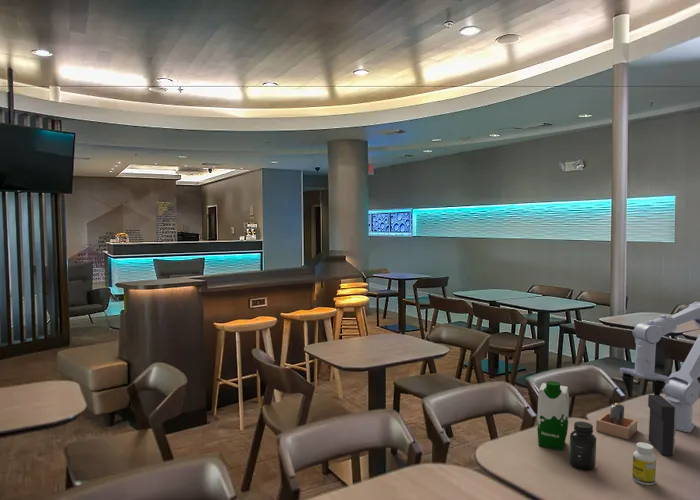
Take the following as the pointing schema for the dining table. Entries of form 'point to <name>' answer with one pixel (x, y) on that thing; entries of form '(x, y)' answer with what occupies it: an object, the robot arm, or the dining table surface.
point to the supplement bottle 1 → (582, 447)
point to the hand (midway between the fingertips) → (642, 399)
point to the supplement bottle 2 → (644, 464)
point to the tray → (616, 426)
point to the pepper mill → (617, 414)
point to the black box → (662, 424)
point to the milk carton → (552, 415)
